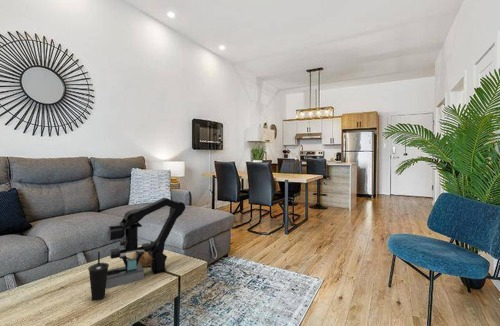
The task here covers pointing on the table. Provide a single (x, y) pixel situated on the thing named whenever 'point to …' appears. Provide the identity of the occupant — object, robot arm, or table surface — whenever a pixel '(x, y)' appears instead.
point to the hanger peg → (131, 264)
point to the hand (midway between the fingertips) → (131, 267)
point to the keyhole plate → (124, 276)
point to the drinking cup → (98, 279)
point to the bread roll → (144, 259)
